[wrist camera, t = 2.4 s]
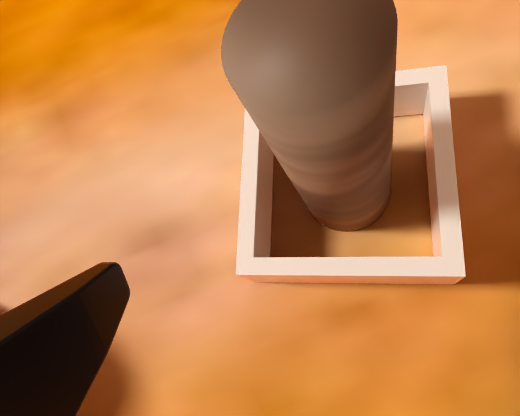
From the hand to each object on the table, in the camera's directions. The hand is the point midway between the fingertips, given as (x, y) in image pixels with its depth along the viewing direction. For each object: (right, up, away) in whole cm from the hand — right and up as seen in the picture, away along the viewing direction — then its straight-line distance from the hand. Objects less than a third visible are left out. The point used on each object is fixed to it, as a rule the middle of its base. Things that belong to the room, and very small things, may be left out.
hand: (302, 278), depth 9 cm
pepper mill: (+4, +2, +13) cm, 14 cm away
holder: (+4, +2, +13) cm, 14 cm away
